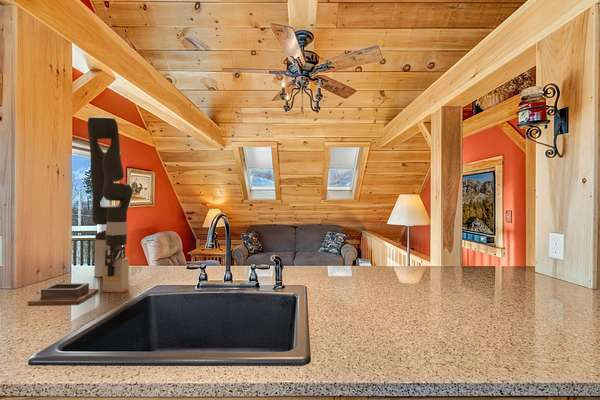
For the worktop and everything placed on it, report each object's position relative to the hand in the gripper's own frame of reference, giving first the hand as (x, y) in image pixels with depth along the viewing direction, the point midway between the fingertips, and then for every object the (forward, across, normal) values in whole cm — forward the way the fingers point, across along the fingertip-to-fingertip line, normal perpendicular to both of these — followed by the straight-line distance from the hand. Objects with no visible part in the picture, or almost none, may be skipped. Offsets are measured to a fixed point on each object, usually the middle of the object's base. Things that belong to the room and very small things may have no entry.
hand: (115, 273), depth 138 cm
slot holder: (+7, +9, -14) cm, 18 cm away
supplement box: (+7, 0, 0) cm, 7 cm away
